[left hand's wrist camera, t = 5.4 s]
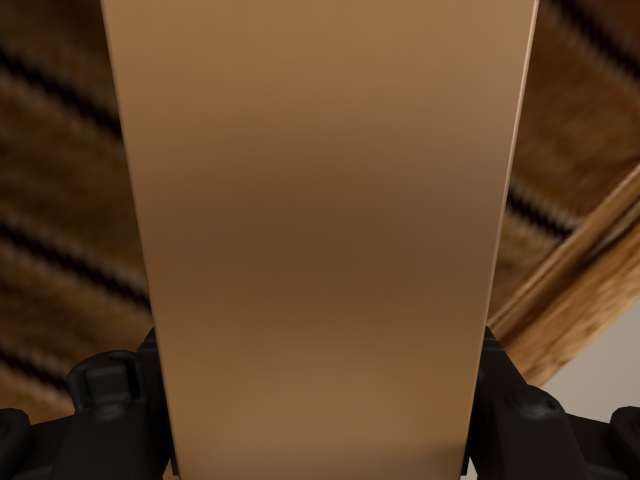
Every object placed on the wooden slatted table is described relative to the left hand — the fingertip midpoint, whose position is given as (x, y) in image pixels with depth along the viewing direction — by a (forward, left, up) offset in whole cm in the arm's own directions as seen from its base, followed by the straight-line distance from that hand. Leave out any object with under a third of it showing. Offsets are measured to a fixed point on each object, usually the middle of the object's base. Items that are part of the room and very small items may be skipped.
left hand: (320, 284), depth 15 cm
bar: (-4, +8, -1) cm, 9 cm away
